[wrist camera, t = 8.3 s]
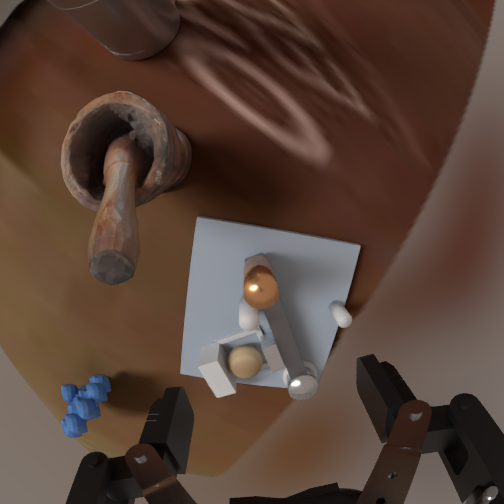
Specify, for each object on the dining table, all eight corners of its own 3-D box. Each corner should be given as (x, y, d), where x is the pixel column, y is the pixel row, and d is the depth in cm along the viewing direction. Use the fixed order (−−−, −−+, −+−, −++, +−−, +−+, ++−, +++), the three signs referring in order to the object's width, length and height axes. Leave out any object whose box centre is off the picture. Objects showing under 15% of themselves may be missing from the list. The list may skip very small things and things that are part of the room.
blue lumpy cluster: (93, 339, 36) (52, 392, 24) (132, 370, 37) (102, 429, 25) (66, 380, 38) (32, 428, 26) (99, 406, 39) (72, 458, 27)
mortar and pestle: (235, 177, 31) (221, 181, 12) (179, 234, 33) (100, 314, 13) (161, 106, 29) (65, 35, 10) (109, 164, 30) (-21, 164, 11)
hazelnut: (230, 336, 35) (229, 354, 31) (264, 340, 35) (266, 359, 31) (226, 363, 35) (224, 382, 32) (258, 367, 36) (259, 387, 32)
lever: (317, 382, 36) (331, 425, 28) (284, 393, 36) (292, 437, 28) (269, 245, 31) (277, 269, 23) (228, 260, 32) (223, 288, 24)
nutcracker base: (198, 215, 32) (188, 224, 26) (357, 243, 33) (378, 257, 28) (181, 368, 37) (173, 397, 31) (314, 384, 38) (323, 413, 32)
